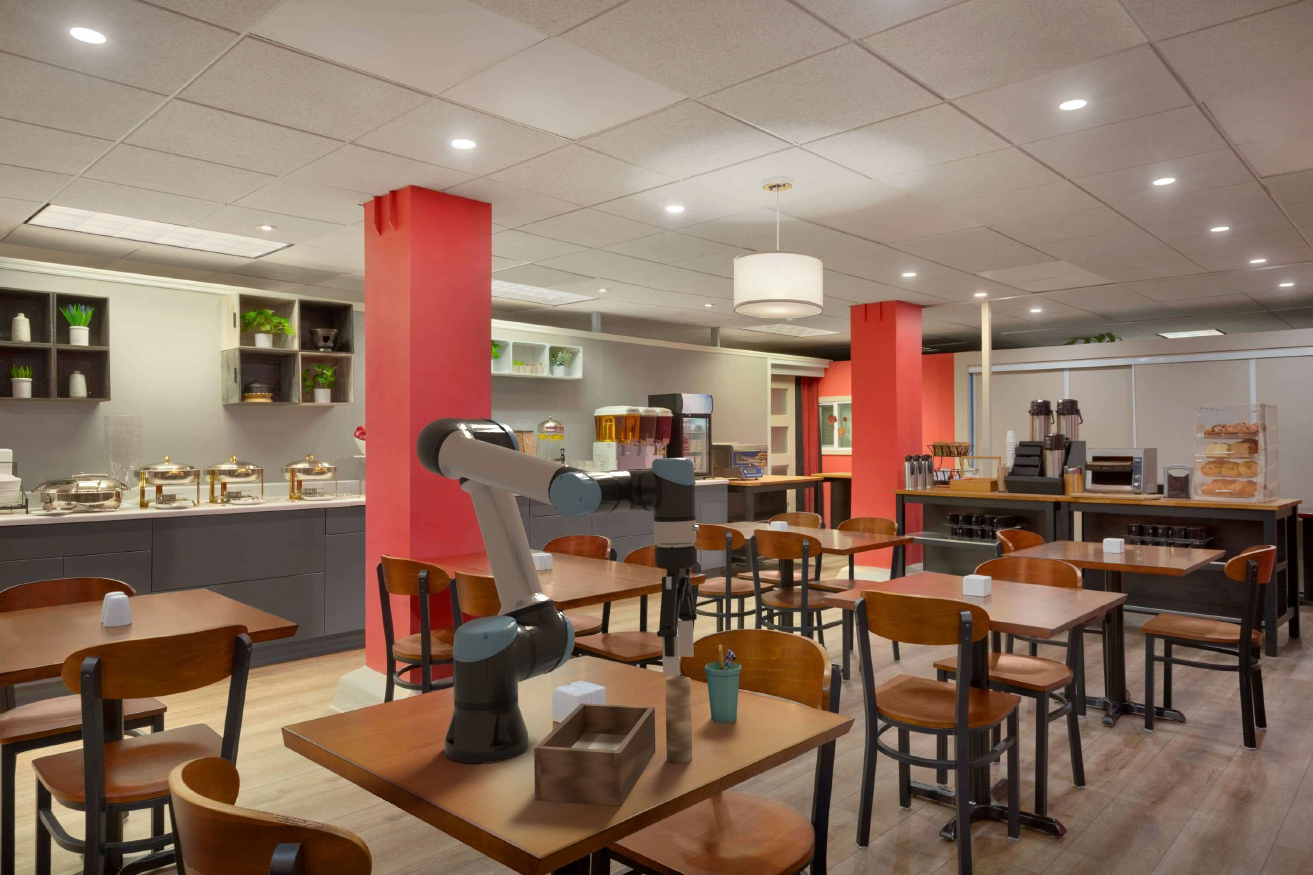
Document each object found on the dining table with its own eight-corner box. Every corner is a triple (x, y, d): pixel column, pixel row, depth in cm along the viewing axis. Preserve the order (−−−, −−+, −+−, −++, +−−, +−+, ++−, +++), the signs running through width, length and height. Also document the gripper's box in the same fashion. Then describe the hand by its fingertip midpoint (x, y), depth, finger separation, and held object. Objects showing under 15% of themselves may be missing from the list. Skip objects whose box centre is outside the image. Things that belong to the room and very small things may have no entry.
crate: (534, 799, 129) (534, 747, 130) (581, 746, 153) (581, 703, 153) (621, 805, 126) (620, 753, 127) (655, 751, 150) (654, 706, 150)
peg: (664, 762, 144) (662, 681, 144) (669, 753, 148) (668, 675, 149) (689, 764, 143) (688, 682, 143) (694, 755, 147) (692, 676, 148)
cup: (754, 729, 161) (753, 651, 162) (716, 732, 160) (714, 654, 160) (733, 708, 175) (731, 636, 175) (697, 711, 173) (696, 639, 174)
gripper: (683, 552, 134) (687, 684, 133) (707, 537, 158) (710, 649, 157) (638, 552, 135) (641, 683, 135) (669, 538, 160) (672, 648, 159)
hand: (679, 665), depth 146 cm, fingers open, 13 cm apart
